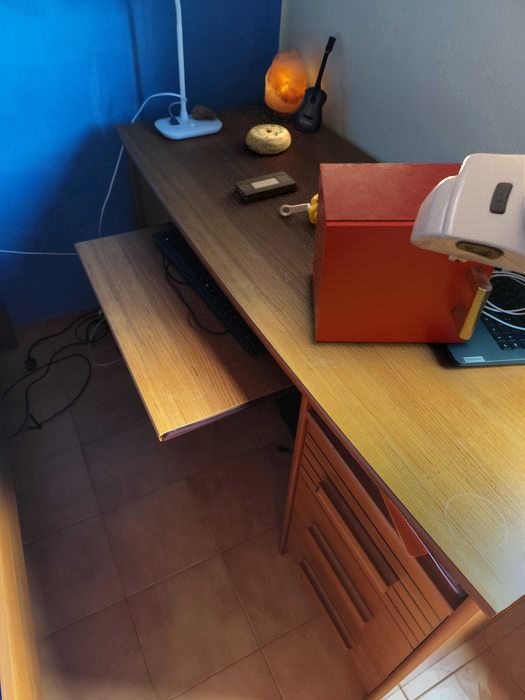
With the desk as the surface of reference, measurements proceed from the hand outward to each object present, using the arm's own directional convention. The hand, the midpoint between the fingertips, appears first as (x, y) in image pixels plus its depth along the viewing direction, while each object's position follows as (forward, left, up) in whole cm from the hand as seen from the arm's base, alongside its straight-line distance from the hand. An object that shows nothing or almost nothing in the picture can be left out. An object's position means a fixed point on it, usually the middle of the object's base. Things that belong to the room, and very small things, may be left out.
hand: (506, 266), depth 45 cm
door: (+3, -18, -32) cm, 37 cm away
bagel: (+27, -104, -32) cm, 112 cm away
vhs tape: (+27, -77, -32) cm, 88 cm away
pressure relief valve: (+17, -62, -32) cm, 72 cm away
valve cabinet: (+3, -31, -32) cm, 45 cm away
